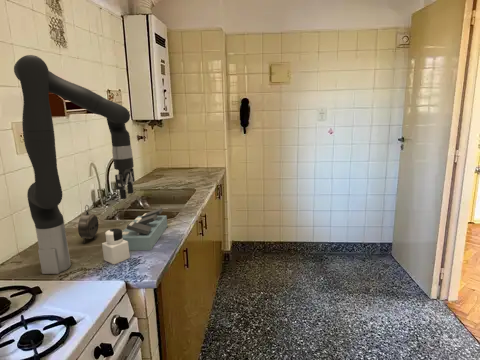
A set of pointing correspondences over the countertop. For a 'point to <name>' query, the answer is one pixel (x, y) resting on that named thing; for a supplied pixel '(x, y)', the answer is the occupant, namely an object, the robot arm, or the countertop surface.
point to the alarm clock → (88, 225)
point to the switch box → (142, 240)
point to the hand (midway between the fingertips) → (127, 195)
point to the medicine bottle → (115, 247)
